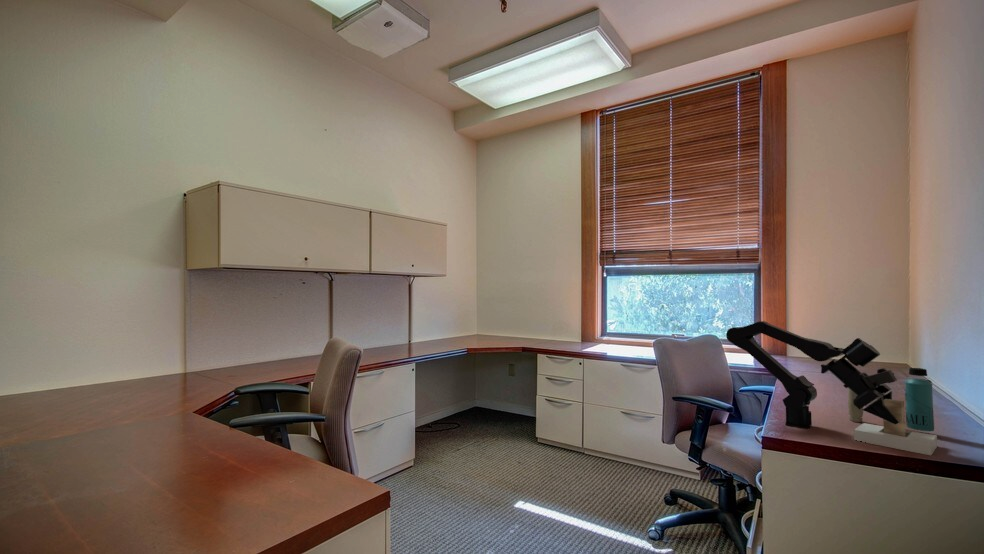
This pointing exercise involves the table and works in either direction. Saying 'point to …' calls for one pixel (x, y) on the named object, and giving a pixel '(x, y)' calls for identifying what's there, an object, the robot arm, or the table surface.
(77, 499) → the table surface
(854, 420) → the handle
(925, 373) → the beverage bottle
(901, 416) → the plug
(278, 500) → the table surface
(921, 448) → the block
